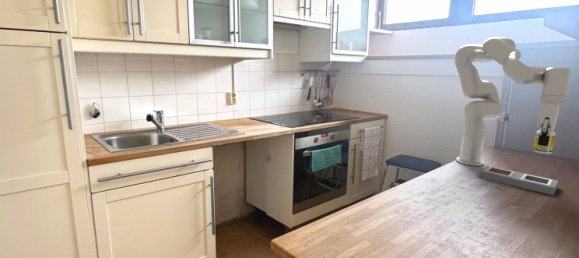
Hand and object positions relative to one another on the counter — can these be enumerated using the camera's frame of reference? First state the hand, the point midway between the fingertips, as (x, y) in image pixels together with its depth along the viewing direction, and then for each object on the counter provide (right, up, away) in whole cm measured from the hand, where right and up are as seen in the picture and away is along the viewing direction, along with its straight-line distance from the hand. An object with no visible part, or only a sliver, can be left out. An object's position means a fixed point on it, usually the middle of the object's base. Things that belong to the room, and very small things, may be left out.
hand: (544, 143), depth 128 cm
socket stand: (-5, -17, +8) cm, 20 cm away
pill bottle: (0, -4, +1) cm, 4 cm away
